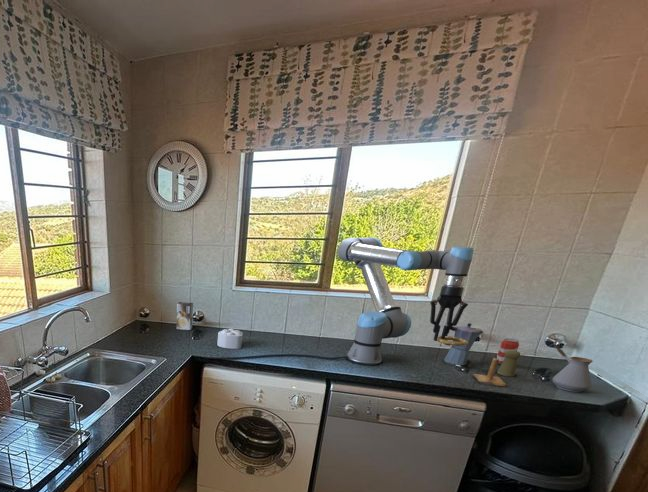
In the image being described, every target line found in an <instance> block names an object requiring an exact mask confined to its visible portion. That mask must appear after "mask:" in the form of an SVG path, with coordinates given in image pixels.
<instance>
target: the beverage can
mask: <svg viewBox="0 0 648 492" xmlns="http://www.w3.org/2000/svg"><path fill="white" fill-rule="evenodd" d="M519 341H520V340H518V339H515V338H509V337H508V338H507V337H505V338H504V339H503V340H502V341H501V343H500V346H499V348H498V352H497V356H496V357H495V358H497V359H499V361H498V364H499V365H501V364H502V362H503V360H504V359H505V352H506V351H508V350H514V351H518V349H519V346H520V343H519ZM498 364H497V365H498Z"/></svg>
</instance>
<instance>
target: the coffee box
mask: <svg viewBox="0 0 648 492" xmlns="http://www.w3.org/2000/svg"><path fill="white" fill-rule="evenodd" d="M193 308H194V303H193V302H186V301H179V302H177V304H176V330H182V331H191V330H192V329H193V316H194V315H193V313H194V309H193Z"/></svg>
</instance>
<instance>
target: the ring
mask: <svg viewBox="0 0 648 492" xmlns="http://www.w3.org/2000/svg"><path fill="white" fill-rule="evenodd" d="M441 336H442V335H438V338H437V341H436V342H438V343H441V344H444V345H445V344H448V345H450V346H452V345H455V346H465V345H467V344H468V341H466V340H465V339H461V338H457V337H454V336H449V335H448V336H445V339H444V340H443V339H441ZM454 341H458V342H454ZM448 345H447V346H448Z"/></svg>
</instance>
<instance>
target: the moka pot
mask: <svg viewBox="0 0 648 492" xmlns="http://www.w3.org/2000/svg"><path fill="white" fill-rule="evenodd" d="M472 326H473V324H472V323H467V325H466V326H451V327H450V331H452V332H454V335H453V337H457V338H461V339H465V340H466V341H468V344H467V345H465V346H455V345H448V344H444V345H445V346H449V347H450V346H451V347H450V348H449V350H448V352H447V354H446V356H445V357H444V359H443V362H445V363H448V364H451V365H454V366H455V365H456V366H466V365H467V362H468V358H469V354H470V352H471V348H472V347H473V345H474V343H475V341H476V339H478V337H480V336H481V335H482V334H483V333H484V331H482V329H478V328H474V327H472ZM445 336H449V333H448V334H446V335H445ZM454 342H458V341H454Z"/></svg>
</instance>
